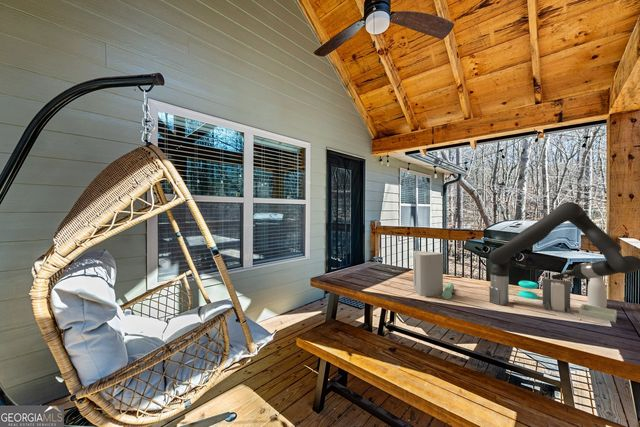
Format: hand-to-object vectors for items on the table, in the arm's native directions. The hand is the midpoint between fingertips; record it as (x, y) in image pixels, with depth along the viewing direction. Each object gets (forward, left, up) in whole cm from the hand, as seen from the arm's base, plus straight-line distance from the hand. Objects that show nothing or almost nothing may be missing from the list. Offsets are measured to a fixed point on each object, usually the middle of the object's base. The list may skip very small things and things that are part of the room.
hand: (558, 275), depth 150 cm
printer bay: (-1, 0, -20) cm, 20 cm away
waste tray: (+9, -13, -20) cm, 25 cm away
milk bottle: (+27, -4, -20) cm, 33 cm away
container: (-34, +45, -20) cm, 60 cm away
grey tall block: (-1, 0, -19) cm, 19 cm away
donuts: (+6, +20, -20) cm, 29 cm away
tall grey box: (-49, +50, -20) cm, 73 cm away
